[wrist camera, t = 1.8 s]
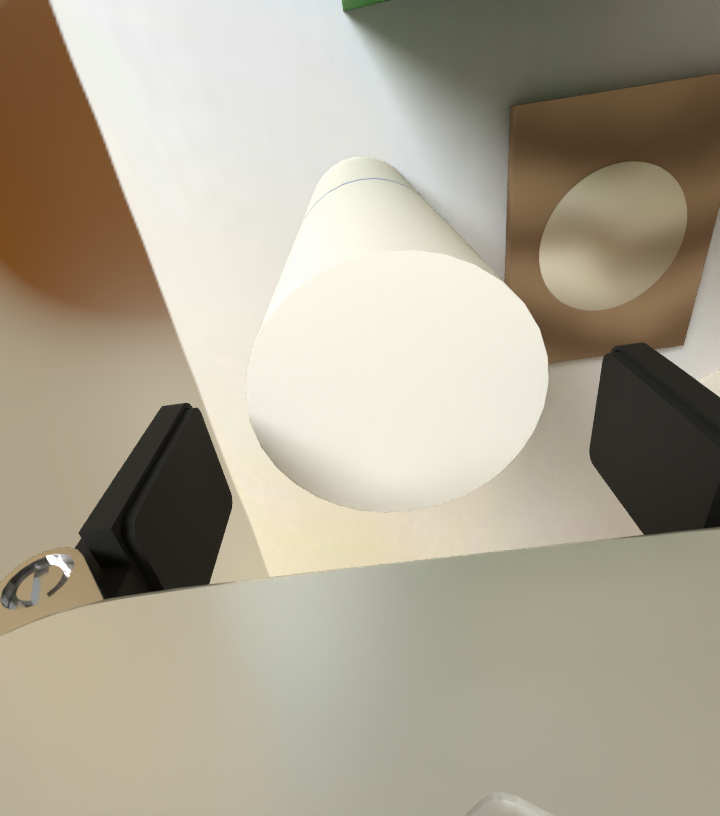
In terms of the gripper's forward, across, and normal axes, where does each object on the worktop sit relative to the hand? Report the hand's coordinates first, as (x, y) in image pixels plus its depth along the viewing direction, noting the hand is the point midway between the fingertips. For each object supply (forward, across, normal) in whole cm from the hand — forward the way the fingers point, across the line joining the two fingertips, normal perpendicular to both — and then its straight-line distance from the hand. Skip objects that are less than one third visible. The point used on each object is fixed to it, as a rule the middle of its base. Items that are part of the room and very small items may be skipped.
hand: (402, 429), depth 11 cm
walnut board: (+26, -17, +3) cm, 31 cm away
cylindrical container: (+26, 0, -1) cm, 26 cm away
